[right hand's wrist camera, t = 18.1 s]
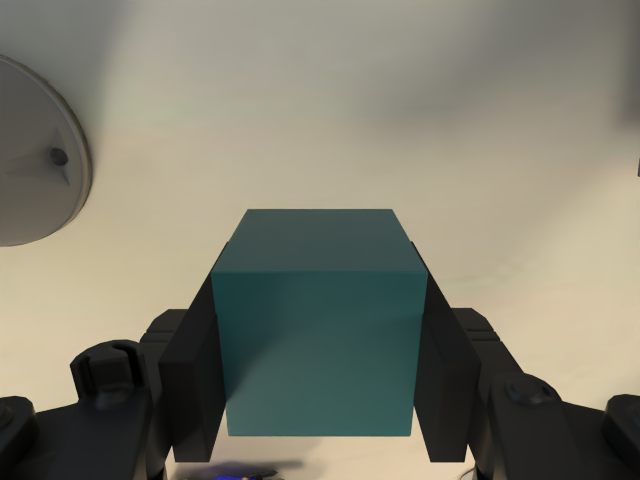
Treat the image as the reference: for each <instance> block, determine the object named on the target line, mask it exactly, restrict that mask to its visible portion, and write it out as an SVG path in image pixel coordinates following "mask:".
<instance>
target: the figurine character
mask: <svg viewBox="0 0 640 480" xmlns="http://www.w3.org/2000/svg"><path fill="white" fill-rule="evenodd" d="M277 473H278V472H275V471H268V472H262V473H256V474H252V475H251V476H250V477H249V478H252V479H248V478H238V477H231V476H224V475H221V476H219V477H217V478H215V479H213V480H263V479H262V478H263V477H269V476H274V475H275V474H277ZM182 480H186V479H182ZM269 480H284V479H281V478H272V479H269Z"/></svg>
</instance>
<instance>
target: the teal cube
mask: <svg viewBox="0 0 640 480" xmlns="http://www.w3.org/2000/svg"><path fill="white" fill-rule="evenodd" d="M427 276H428V272H427V270H426V268H425V266H424V265H423V263H422V261H421V259H420V258H419V256H418V254H417V252H416V250H415V249H414V247H413V245H412V243H411V242H410V240H409V238H408V236H407V235H406V233H405V231H404V229H403V228H402V226H401V224H400V222H399V220H398V219H397V217H396V215H395V213H394V212H393V210H392V209H247V211H246V213H245V215H244V216H243V218H242V220H241V221H240V223H239V225H238V227H237V228H236V230H235V232H234V233H233V235H232V237H231V239H230V240H229V242H228V244H227V245H226V247H225V249H224V251H223V252H222V254H221V256H220V257H219V259H218V261H217V263H216V264H215V266H214V268H213V270H212V271H211V277H212V287H213V296H214V305H215V313H216V314H217V319H218V328H219V338H220V347H221V357H222V366H223V376H224V385H225V395H226V406H225V408H226V417H227V427H228V435H229V436H410V435H411V427H412V418H413V408H414V403H413V402H414V392H415V383H416V373H417V364H418V354H419V345H420V335H421V326H422V316H423V313H424V305H425V295H426V286H427Z"/></svg>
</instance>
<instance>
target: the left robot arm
mask: <svg viewBox="0 0 640 480" xmlns="http://www.w3.org/2000/svg"><path fill="white" fill-rule="evenodd" d="M473 472H474V470H473V471H471V472H469V473H467V474H466V475H464V476H463V477H462V478H461V480H472V477H473Z"/></svg>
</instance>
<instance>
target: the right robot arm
mask: <svg viewBox="0 0 640 480" xmlns="http://www.w3.org/2000/svg"><path fill="white" fill-rule="evenodd" d="M90 182H91V159H90V153H89V148H88V144H87V141H86V138H85V135H84V133H83V130H82V128H81V126H80V124H79V122H78V120H77V118H76V117H75V115H74V113H73V112H72V110H71V109H70V107H69V106H68V104H67V103H66V102H65V101H64V99H63V98H62V97H61V96H60V95H59V93H58V92H57V91H56V90H55V89H54V88H53V87H52V86H51V85H50V84H49V83H47V82H46V81H45V80H44V79H43V78H41V77H40V76H39V75H38V74H36V73H35V72H33V71H32V70H30V69H29V68H27V67H26V66H24V65H22V64H20V63H19V62H16V61H14V60H12V59H10V58H7V57H5V56H2V55H0V247H3V246H17V245H23V244H27V243H30V242H33V241H36V240H39V239H42V238H44V237H46V236H48V235H50V234H52V233H54V232H56V231H58V230H59V229H61V228H63V227H64V226H66V225H67V224H68V223H69V222H70V221H71V220H72V219H73V218H74V217H75V216H76V215H77V214H78V212H79V211H80V209H81V208H82V206H83V204H84V202H85V200H86V197H87V195H88V191H89V188H90ZM411 243H412V245H413V247H414V249H415V250H416V252H417V254H418V256H419V258H420V259H421V261H422V263H423V265H424V266H425V268H426V270H427V272H428V276H427V286H426V295H425V305H424V313H423V316H422V326H421V335H420V345H419V354H418V364H417V373H416V383H415V392H414V402H413V403H414V407H415V410H416V414H417V417H418V421H419V424H420V428H421V431H422V434H423V438H424V441H425V445H426V448H427V452H428V455H429V459H430V462H465V456H466V451H467V445H469V447H470V450H471V452H472V454H473V457H474V459H475V467H474V472H473V477H472V480H640V396H636V395H629V394H622V395H616V396H613V397H612V398H611V399H610V400H608V402H607V405H606V409H605V411H602V410H597V409H593V408H588V407H584V406H579V405H575V404H571V403H568V402H564V401H562V399H561V398H560V396H559V395H558V393H557V392H556V390H555V389H554V388H553V387H551V386H550V385H549V384H548V383H546V382H545V381H543V380H541V379H539V378H537V377H535V376H533V375H530V374H526V373H524V372H523V371H522V369H521V368H520V366H519V365H518V364H517V362H516V361H515V359H514V358H513V356H512V355H511V354H510V352H509V351H508V349H507V348H506V346H505V345H504V344H503V342H502V341H500V338H499V336H498V335H497V333H496V332H494V329H493V328H492V326H491V325H490V323H489V322H488V321H487V319H486V318H485V317H484V316H482V315H481V314H479V313H478V312H476V311H475V310H474V309H472V308H450V306H449V304H448V302H447V301H446V299H445V297H444V295H443V294H442V292H441V290H440V288H439V287H438V285H437V283H436V282H435V280H434V278H433V276H432V275H431V273H430V271H429V269H428V268H427V266H426V264H425V262H424V261H423V259H422V257H421V255H420V254H419V252H418V250H417V249H416V247H415V245H414V243H413V242H411ZM227 244H228V242H227V243H226V245H227ZM226 245H225V246H224V248H223V250H222V252H223V251H224V249H225V247H226ZM222 252H221V253H220V255H219V257H220V256H221V254H222ZM219 257H218V259H219ZM218 259H217V260H216V262H215V264H216V263H217V261H218ZM215 264H214V265H213V267H212V269H211V271H212V270H213V268H214V266H215ZM211 271H210V272H209V274H208V276H207V278H206V279H205V281H204V283H203V285H202V286H201V288H200V290H199V291H198V293H197V295H196V297H195V298H194V300H193V302H192V304H191V305H190V307H189V309H168V310H167V311H165V312H164V313H162V314H161V315H160V316H158V317H157V318H155V319H154V320H153V322H152V323H151V325H150V326H149V328H148V329H147V331H146V333H144V335H143V336H142V338H141V339H140V343H137V342H135V341H131V340H112V341H107V342H103V343H100V344H97V345H95V346H93V347H90V348H88V349H86V350H85V351H83V352H82V353H80V354H79V355H78V356H76V357H75V359H74V360H73V361H72V362H71V364H70V368H71V372H72V376H73V379H74V383H75V387H76V390H77V394H78V398H79V400H78V402H77V403H75V404H71V405H68V406H64V407H59V408H55V409H50V410H46V411H42V412H37V413H35V410H34V407H33V404H32V402H31V401H30V400H28V399H27V398H26V397H19V396H10V397H2V398H0V480H167V472H166V467H165V461H166V458H167V456H168V453H169V451H170V448H171V446H172V447H173V452H174V458H175V462H209V461H210V458H211V454H212V451H213V447H214V444H215V440H216V437H217V433H218V430H219V427H220V423H221V420H222V416H223V413H224V409H225V406H226V395H225V385H224V376H223V366H222V357H221V347H220V338H219V328H218V319H217V314H216V313H215V305H214V296H213V287H212V277H211Z"/></svg>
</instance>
